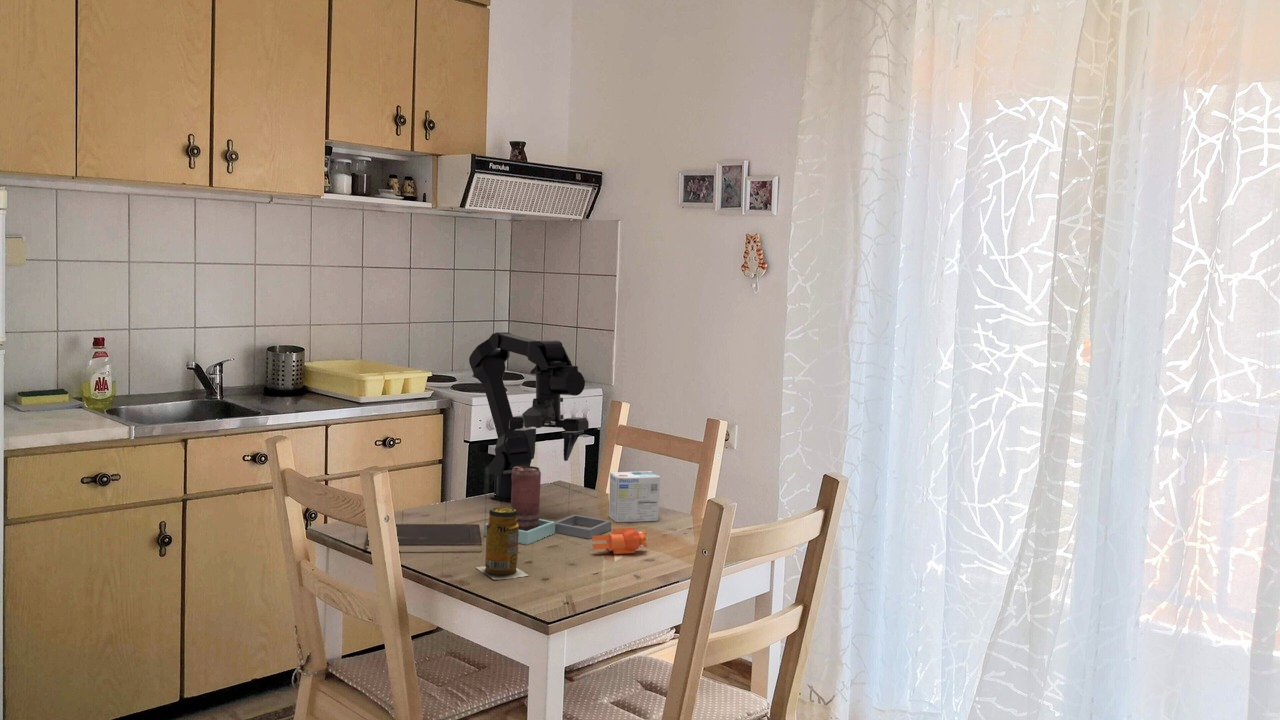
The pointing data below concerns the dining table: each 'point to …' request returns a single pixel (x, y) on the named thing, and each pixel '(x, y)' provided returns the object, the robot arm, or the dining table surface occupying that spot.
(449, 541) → the hardcover book
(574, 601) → the dining table surface
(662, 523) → the dining table surface
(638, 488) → the light bulb box
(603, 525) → the grey square tray
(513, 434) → the robot arm
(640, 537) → the orange toy figure
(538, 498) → the can
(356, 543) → the dining table surface
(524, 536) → the tray
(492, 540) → the condiment
